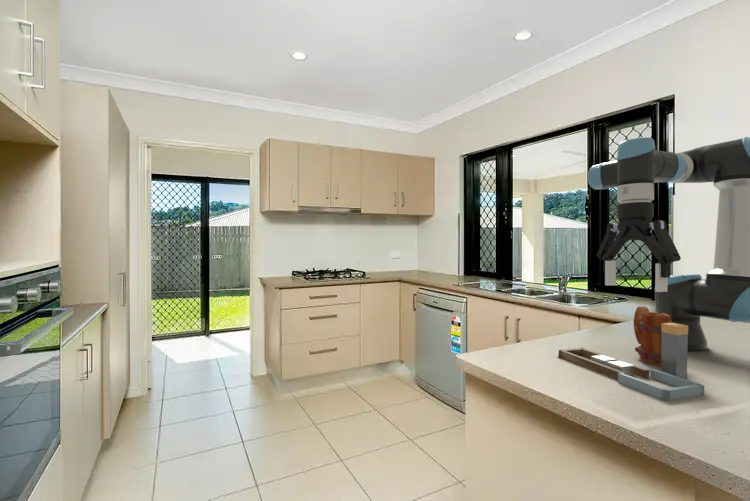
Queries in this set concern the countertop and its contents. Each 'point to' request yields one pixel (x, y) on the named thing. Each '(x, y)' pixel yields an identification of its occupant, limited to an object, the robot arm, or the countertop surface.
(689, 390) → the tray
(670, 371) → the grey and tan block
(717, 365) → the countertop surface
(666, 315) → the mug
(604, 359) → the chip
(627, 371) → the chip
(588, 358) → the slot board
